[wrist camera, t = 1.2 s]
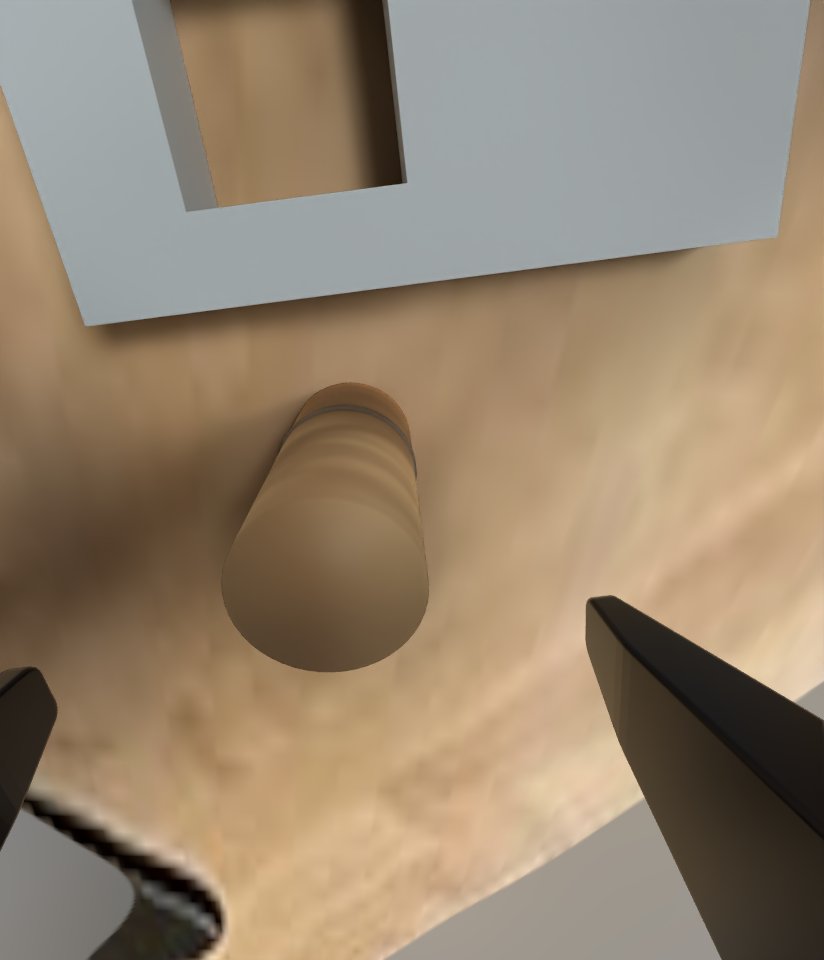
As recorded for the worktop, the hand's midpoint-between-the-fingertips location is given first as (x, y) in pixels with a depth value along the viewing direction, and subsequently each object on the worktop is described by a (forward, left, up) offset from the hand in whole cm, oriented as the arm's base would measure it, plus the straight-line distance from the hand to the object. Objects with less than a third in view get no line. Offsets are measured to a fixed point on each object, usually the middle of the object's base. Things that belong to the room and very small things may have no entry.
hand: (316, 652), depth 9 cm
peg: (0, 0, -11) cm, 11 cm away
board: (-3, -10, -11) cm, 15 cm away
